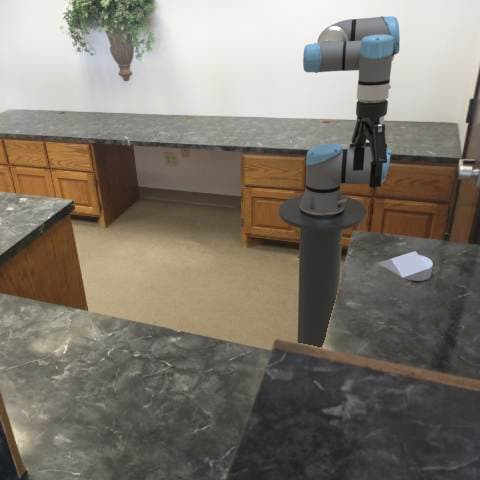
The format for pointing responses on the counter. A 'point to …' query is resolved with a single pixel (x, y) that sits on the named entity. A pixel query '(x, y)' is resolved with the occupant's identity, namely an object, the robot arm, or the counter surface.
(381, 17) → the robot arm
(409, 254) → the wedge on round base
